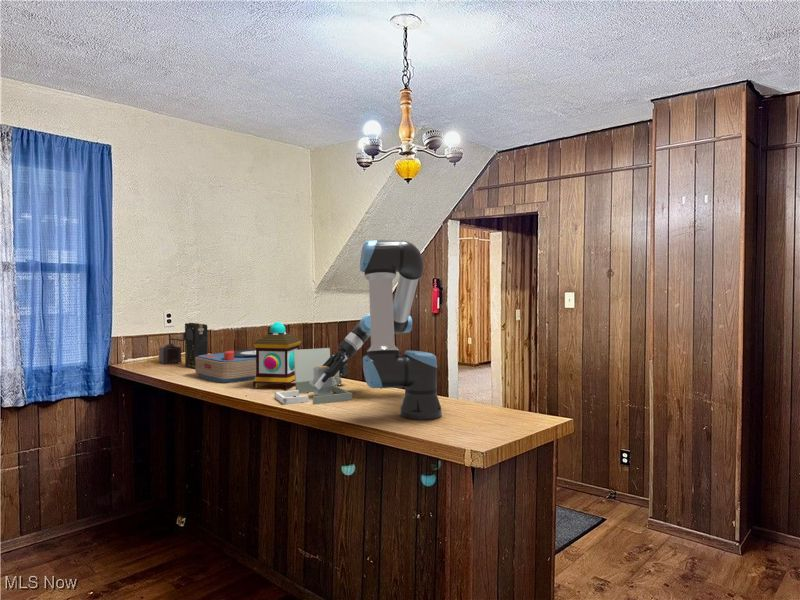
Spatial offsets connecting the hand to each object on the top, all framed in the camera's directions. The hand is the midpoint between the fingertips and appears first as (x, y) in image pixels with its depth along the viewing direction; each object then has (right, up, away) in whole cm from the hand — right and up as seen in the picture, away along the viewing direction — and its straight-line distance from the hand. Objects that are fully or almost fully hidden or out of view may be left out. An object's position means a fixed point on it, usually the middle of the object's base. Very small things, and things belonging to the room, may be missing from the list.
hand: (314, 386), depth 234 cm
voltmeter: (-80, -2, +84) cm, 116 cm away
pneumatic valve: (+6, -4, +29) cm, 30 cm away
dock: (-8, -5, -4) cm, 11 cm away
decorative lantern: (-21, -4, +27) cm, 34 cm away
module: (+3, -3, +2) cm, 5 cm away
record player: (-45, -3, +59) cm, 74 cm away
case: (+3, -5, +4) cm, 7 cm away
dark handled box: (-100, -2, +103) cm, 143 cm away
